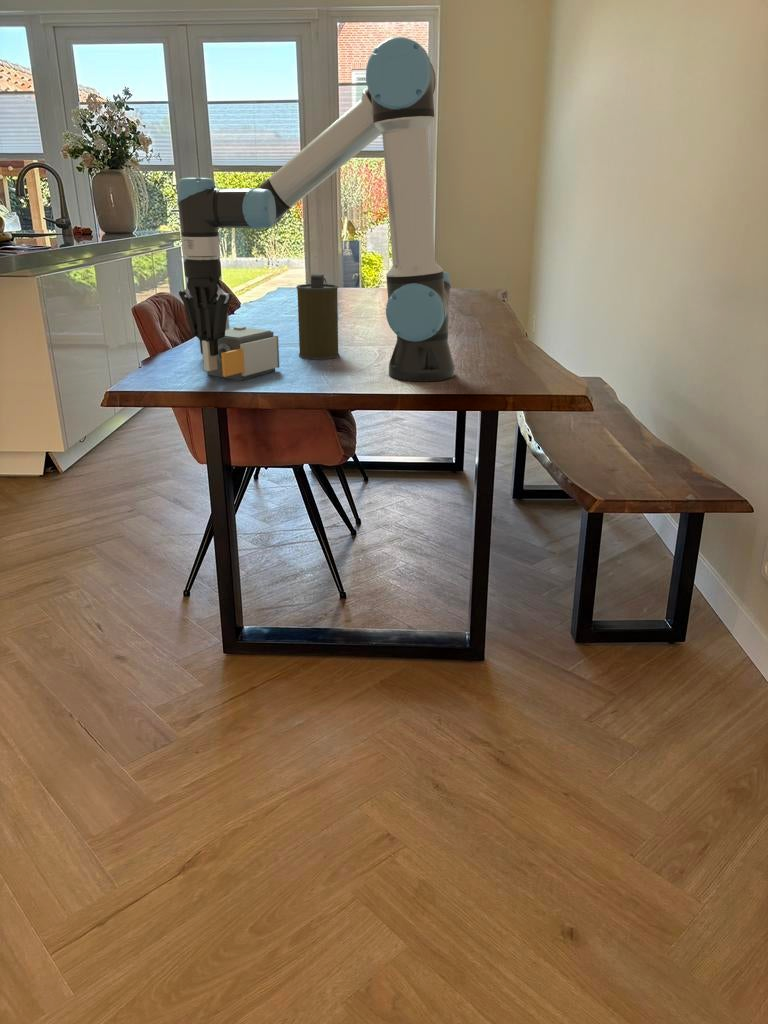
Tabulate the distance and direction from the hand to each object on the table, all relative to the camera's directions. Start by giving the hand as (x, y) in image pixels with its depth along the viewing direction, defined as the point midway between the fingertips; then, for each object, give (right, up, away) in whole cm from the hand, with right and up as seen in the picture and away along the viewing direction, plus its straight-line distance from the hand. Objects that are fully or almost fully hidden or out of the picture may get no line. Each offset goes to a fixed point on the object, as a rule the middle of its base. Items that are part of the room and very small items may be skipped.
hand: (211, 369), depth 169 cm
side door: (+9, 0, +3) cm, 9 cm away
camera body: (+5, +1, +8) cm, 10 cm away
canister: (+22, +9, +28) cm, 36 cm away
